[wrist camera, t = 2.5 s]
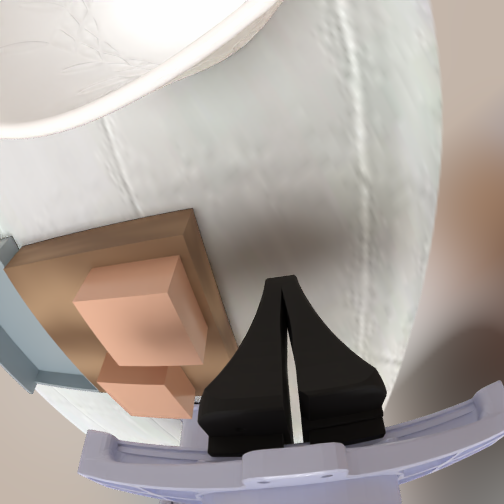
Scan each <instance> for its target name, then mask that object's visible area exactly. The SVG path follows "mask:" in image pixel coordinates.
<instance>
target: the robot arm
mask: <svg viewBox="0 0 504 504" xmlns="http://www.w3.org/2000/svg"><path fill="white" fill-rule="evenodd" d="M287 328H288V333H289V337H290V342H291V347H292V351H293V356H294V361H295V365H296V374H297V384H298V393H299V402H300V412H301V422H302V432H303V442H304V443H297V444H294V440H293V429H292V418H291V407H290V396H289V385H288V373H287ZM386 394H387V391H386V387H385V385H384V383H383V380H382V378H381V377H380V375H379V373H378V371H377V370H376V368H374V367H373V366H371V365H370V364H368V363H367V362H366V361H364V360H363V359H361V358H360V357H359V356H358V355H356V354H355V353H354V352H353V351H351V350H350V349H349V348H348V347H347V346H346V345H345V344H344V343H343V342H342V341H340V340H339V339H338V338H337V337H336V336H335V335H334V333H333V332H332V331H331V330H330V329H329V328H328V327H327V326H326V325H325V323H324V322H323V321H322V320H321V318H320V317H319V316H318V314H317V313H316V312H315V310H314V309H313V307H312V306H311V304H310V303H309V301H308V300H307V298H306V296H305V295H304V293H303V291H302V289H301V287H300V285H299V283H298V280H297V277H296V276H295V275H290V276H283V277H276V278H268V279H267V280H266V281H265V286H264V291H263V295H262V298H261V301H260V304H259V307H258V310H257V312H256V315H255V317H254V319H253V322H252V324H251V326H250V328H249V330H248V332H247V334H246V336H245V338H244V339H243V341H242V343H241V345H240V346H239V348H238V349H237V351H236V352H235V354H234V355H233V357H232V358H231V359H230V361H229V362H228V363H227V364H226V366H225V367H224V368H223V369H222V371H221V372H220V373H219V374H218V375H217V376H216V378H215V379H214V380H213V381H212V382H211V383H210V384H209V385H208V386H207V387H206V388H205V389H204V391H203V394H202V397H201V400H200V404H194V408H193V416H192V419H180V420H181V421H182V422H183V424H182V432H181V440H180V447H178V446H164V445H154V444H144V443H136V442H129V441H122V440H118V439H117V438H116V437H115V436H113V435H112V434H109V433H106V432H100V431H95V430H88V431H87V435H86V439H85V443H84V446H83V450H82V455H81V459H80V463H79V467H78V474H80V475H82V476H84V477H86V478H88V479H90V480H92V481H94V482H96V483H98V484H101V485H103V486H105V487H108V488H112V489H116V490H120V491H124V492H128V493H132V494H137V495H142V496H147V497H151V498H157V499H160V502H159V504H402V501H401V495H400V489H399V485H400V484H403V483H406V482H409V481H412V480H414V479H417V478H420V477H422V476H425V475H428V474H430V473H433V472H435V471H437V470H440V469H442V468H445V467H447V466H449V465H451V464H454V463H456V462H458V461H460V460H462V459H464V458H466V457H468V456H470V455H473V454H475V453H477V452H478V451H480V450H483V449H484V448H486V447H488V446H490V445H492V444H494V443H495V442H496V441H498V440H499V439H500V438H501V437H503V436H504V387H503V384H502V382H501V381H497V382H495V383H492V384H490V385H488V386H486V387H484V388H482V389H480V390H479V391H478V392H477V393H476V394H475V395H474V397H473V398H472V399H470V400H467V401H465V402H463V403H460V404H458V405H455V406H452V407H450V408H447V409H444V410H441V411H438V412H436V413H433V414H430V415H427V416H424V417H420V418H417V419H414V420H411V421H407V422H404V423H400V424H397V425H393V426H389V427H385V426H384V422H383V418H382V417H383V410H382V404H383V402H384V400H385V397H386Z"/></svg>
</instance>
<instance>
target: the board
mask: <svg viewBox="0 0 504 504" xmlns="http://www.w3.org/2000/svg"><path fill="white" fill-rule="evenodd" d="M176 255H179V256H180V259H181V261H182V264H183V267H184V269H185V272H186V274H187V277H188V280H189V282H190V285H191V287H192V290H193V292H194V295H195V297H196V300H197V302H198V305H199V307H200V310H201V312H202V314H203V317H204V319H205V322H206V324H207V326H208V331H207V339H206V347H205V354H204V362H203V365H183V366H180V367H181V368H182V370H183V371H184V373H185V374H186V376H187V377H188V379H189V381H190V382H191V384H192V385H193V387H194V388H195V390H196V391H195V396H202V394H203V391H204V389H205V388H206V387H207V386H208V385H209V384H210V383H211V382H212V381H213V380H214V379H215V378H216V376H217V375H218V374H219V373H220V372H221V371H222V369H223V368H224V367H225V366H226V364H227V363H228V362H229V361H230V359H231V358H232V357H233V355H234V354H235V352H236V351H237V349H238V346H237V343H236V341H235V338H234V335H233V332H232V329H231V326H230V323H229V320H228V318H227V315H226V312H225V309H224V306H223V303H222V300H221V297H220V294H219V291H218V288H217V285H216V282H215V279H214V276H213V272H212V269H211V266H210V263H209V260H208V257H207V254H206V251H205V247H204V244H203V241H202V238H201V234H200V231H199V228H198V225H197V221H196V218H195V215H194V211H193V208H191V209H186V210H180V211H175V212H170V213H165V214H160V215H155V216H150V217H145V218H140V219H135V220H131V221H126V222H121V223H117V224H112V225H108V226H103V227H99V228H94V229H90V230H86V231H82V232H78V233H73V234H69V235H65V236H61V237H57V238H53V239H49V240H45V241H42V242H38V243H34V244H30V245H27V246H23V247H21V248H20V250H19V251H18V252H17V253H16V254H15V255H14V257H13V258H12V259H11V260H10V261H9V263H8V264H7V265H6V266H5V267H4V269H3V270H4V271H5V273H6V275H7V276H8V278H9V279H10V281H11V282H12V284H13V286H14V287H15V289H16V290H17V292H18V293H19V295H20V296H21V298H22V299H23V301H24V302H25V303H26V305H27V306H28V308H29V309H30V310H31V312H32V313H33V315H34V316H35V317H36V319H37V320H38V321H39V323H40V324H41V325H42V327H43V328H44V329H45V330H46V332H47V333H48V334H49V336H50V337H51V338H52V339H53V340H54V342H55V343H56V344H57V345H58V347H59V348H60V349H61V350H62V351H63V352H64V354H65V355H66V356H67V357H68V358H69V359H70V360H71V362H72V363H73V364H74V365H75V366H76V367H77V368H78V369H79V370H80V372H81V373H82V374H83V375H84V376H85V377H86V378H87V379H88V380H89V381H90V382H91V383H92V384H93V385H94V386H95V387H96V388H97V389H98V390H99V391H100V392H105V393H107V392H106V391H105V390H104V389H103V388H102V387H101V386H100V385H99V384H98V383H97V379H98V376H99V373H100V370H101V367H102V365H103V362H104V359H105V356H106V353H107V352H108V351H107V350H106V349H105V347H104V346H103V345H102V343H101V342H100V341H99V339H98V338H97V337H96V335H95V334H94V333H93V331H92V330H91V328H90V327H89V326H88V324H87V323H86V321H85V320H84V319H83V317H82V316H81V314H80V313H79V311H78V310H77V308H76V307H75V305H74V304H73V302H72V301H73V300H74V298H75V296H76V294H77V292H78V291H79V289H80V287H81V285H82V284H83V282H84V280H85V279H86V277H87V275H88V274H89V272H90V270H91V269H92V268H97V267H103V266H110V265H116V264H123V263H129V262H136V261H143V260H149V259H156V258H162V257H169V256H176Z"/></svg>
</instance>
